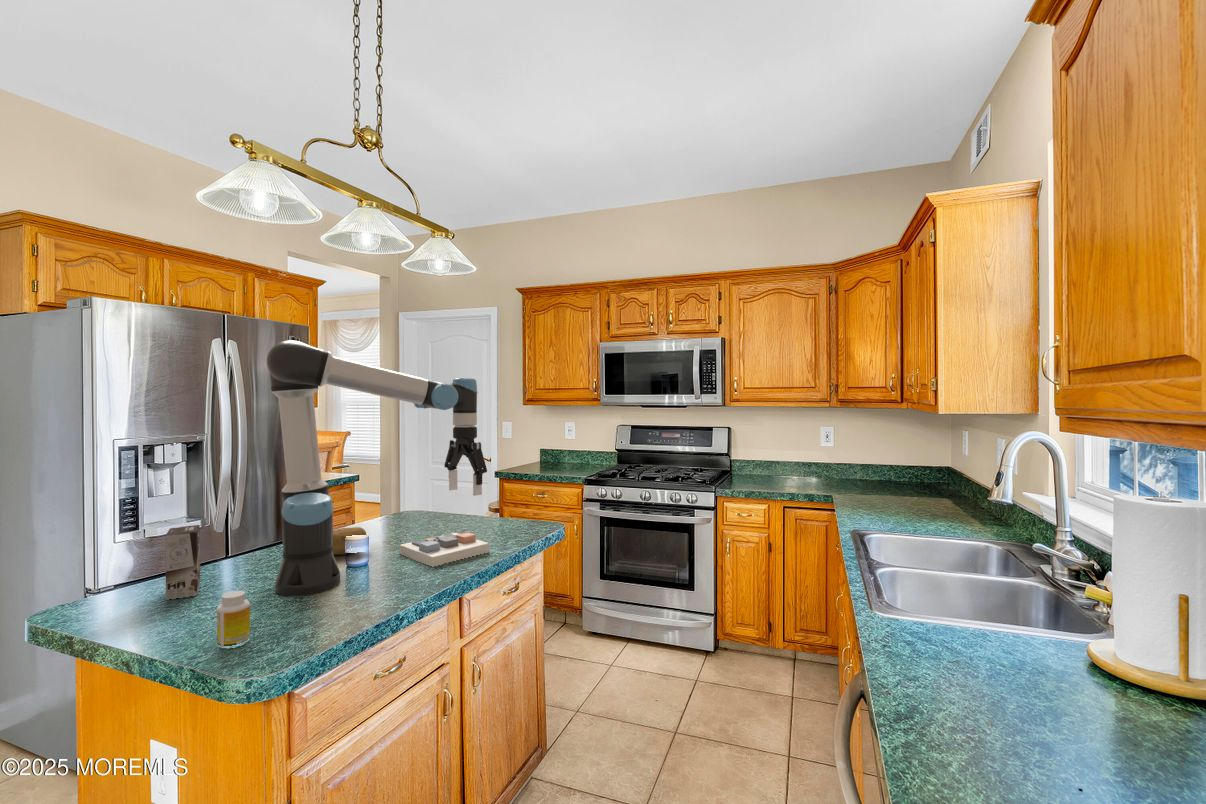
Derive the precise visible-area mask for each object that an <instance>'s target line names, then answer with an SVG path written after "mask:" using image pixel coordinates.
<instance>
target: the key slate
mask: <svg viewBox="0 0 1206 804" xmlns="http://www.w3.org/2000/svg"><path fill="white" fill-rule="evenodd" d="M419 550H420V551H422V552H425V553H429V552H433V551H437V550H440V543H439V542H436V541H433V540H431V541H426V542H422V543H419Z"/></svg>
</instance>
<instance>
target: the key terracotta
mask: <svg viewBox="0 0 1206 804" xmlns="http://www.w3.org/2000/svg"><path fill="white" fill-rule="evenodd" d="M476 535H477V534H475V533H471V532H463V533H458V535H456V538H458V542H459V543H462V544H466V543H470V542H474V541H476Z"/></svg>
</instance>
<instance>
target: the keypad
mask: <svg viewBox="0 0 1206 804" xmlns="http://www.w3.org/2000/svg"><path fill="white" fill-rule="evenodd" d="M458 534H459V533H457V532H451V533H447V534H442V535H438V536H434V537H433V536H432V537H428V538H424V539H420V540H414V541H411V542H406V543H402V544H399V555H400V554H401V555H400V556H403V555H404V556H403V557H405V556H406V557H405V558H408V557H409V558H408V559H410V558H411V559H410V560H413V559H414V560H413V561H415V560H416V562H418V561H419V562H418V563H420V562H421V563H420V564H423V563H424V564H423V565H425V564H426V565H425V566H428V565H429V566H428V567H430V566H432V567H431V568H435V567H434V566H436V567H438V566H437V565H440V566H442V565H441V564H444V563H447V564H449V563H448V562H451V563H453V562H452V561H455V562H457V561H456V560H459V561H461V560H460V559H463V560H465V559H464V558H466V559H469V558H468V557H470V558H473V557H472V556H474V557H477V556H476V555H478V556H481V555H485V554H488V552H489V553H490V543H489V542H487V541H483V540H480V539H476V541H474V542H470V543H466V544H462V543H459V542H458V546H453V547H449V548H443V547H440V550H437V551H433V552H429V553H425V552H422V551H420V550H419V543H422V542H426V541H431V540H433V541H436V542H438V539H440V538H444V537H449V536H451V537H455V538H456V535H458ZM484 553H485V554H484ZM480 554H481V555H480ZM444 565H445V564H444Z"/></svg>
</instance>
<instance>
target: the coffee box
mask: <svg viewBox="0 0 1206 804" xmlns="http://www.w3.org/2000/svg"><path fill="white" fill-rule="evenodd" d="M200 531H201V530H200V524H195V525H186V526H179V527H171V528H169V529H168V531H167V532H166V534H165V535H164V536H165V601H170V600H169V599H172V600H176V598H179V599H184V598H183V597H185V598H191V597H190V596H193V597H196V595H198V592H199V589H200V587H201V556H200V555H201V547H200V546H201V541H200V540H201V536H200V535H201V534H200Z"/></svg>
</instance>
